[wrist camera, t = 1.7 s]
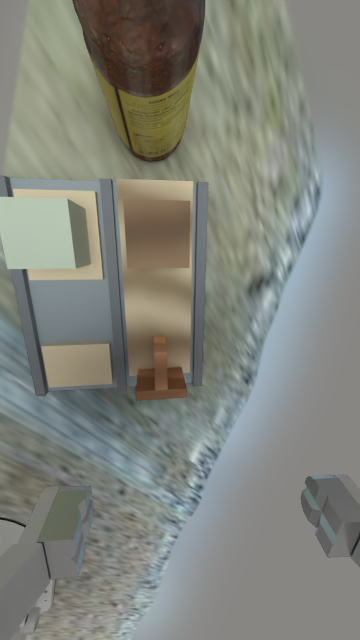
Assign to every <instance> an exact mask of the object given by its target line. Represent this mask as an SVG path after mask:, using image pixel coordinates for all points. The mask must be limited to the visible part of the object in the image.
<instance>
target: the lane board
mask: <svg viewBox="0 0 360 640" xmlns="http://www.w3.org/2000/svg"><path fill="white" fill-rule="evenodd" d="M0 197H32V198H67V199H69V200H71V201H73V202H74V203H76V204H78V205H80V206H81V207H83V208H85V209H86V219H87V229H88V238H89V248H90V258H91V264H90V265H87V266H83V267H80V268H76V269H11V274H12V279H13V284H14V289H15V294H16V298H17V303H18V308H19V313H20V318H21V323H22V328H23V333H24V338H25V343H26V348H27V353H28V358H29V363H30V368H31V373H32V378H33V383H34V388H35V393H36V396H46V394H47V393H48V392H49V391H66V390H82V389H99V388H116V387H117V390H118V391H126V390H127V387H133V386H136V383H137V376H129V362H128V347H127V332H126V317H125V302H124V287H123V272H122V257H121V242H120V227H119V212H118V197H117V182H112V180H111V179H100V181H81V180H49V179H17V178H8V177H6V176H0ZM207 212H208V182H198V183H197V184H193V221H192V281H191V341H190V373H183V375H184V379H185V383H193V386H202V362H203V332H204V302H205V272H206V242H207Z"/></svg>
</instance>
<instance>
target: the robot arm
mask: <svg viewBox="0 0 360 640" xmlns="http://www.w3.org/2000/svg"><path fill="white" fill-rule="evenodd" d="M305 484H306V486H307V487H306V488H305V489H304V490H303V491H302V494H301V504H302V508H303V511H304V513H305V515H306V517H307V519H308V521H309V522H310V523H311V524H313V525H314V526H315V527H316V536H317V538H318V540H319V542H320V544H321V546H322V548H323V550H324V552H325V553H326V555H327V557H329V558H330V557H351V559H352V560H353V561H354V562H355V563H356V564H357V565H358V566H359V567H360V489H359V487H358V486H357V485H356V484H355V482H354V481H353V480H352V479H351V478H350V477H349V476H348V475H344V474H343V475H318V476H308V477H307V478H306V480H305ZM91 494H92V490H91V486H55V487H45V489H44V490H43V491H42V492H41V495H40V497H39V499H38V501H37V503H36V505H35V508H34V510H33V512H32V514H31V516H30V518H29V521H28V523H27V525H26V527H23V526H21V525H18V524H16V523H13V522H9V521H5V520H0V640H25V638H26V636H27V634H28V633H33V632H35V630H36V627H37V624H38V621H39V617H40V614H42V613H44V612H46V611H47V610H49V609H50V607H51V605H52V602H53V598H54V586H55V579H63V578H72V577H79V574H80V570H81V565H82V561H83V557H84V553H85V544H84V539H85V538H86V537H87V536H88V534H89V532H90V527H91V522H92V515H93V501H92V500H91V499H90V497H91Z"/></svg>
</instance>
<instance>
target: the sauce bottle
mask: <svg viewBox="0 0 360 640" xmlns="http://www.w3.org/2000/svg"><path fill="white" fill-rule="evenodd" d="M72 1H73V4H74V8H75V11H76V13H77V15H78V18H79V21H80V23H81V25H82V30H83V36H84V40H85V43H86V47H87V50H88V52H89V55H90V58H91V61H92V63H93V66H94V69H95V72H96V74H97V77H98V80H99V83H100V86H101V88H102V91H103V94H104V97H105V99H106V102H107V105H108V107H109V110H110V113H111V116H112V119H113V121H114V124H115V127H116V130H117V132H118V134H119V136H120V138H121V139H122V141H123V142H124V144H125V145H126V146H127V147H128V149H129V150H130V151H131V152H132V153H133V154H134V155H135V156H136V157H138V158H141V159H143V160H147V161H150V160H151V161H157V160H162V159H164V158H165V157H167V156H168V155H169V154H170V153H172V152H173V151H174V150H175V148H176V147H177V145H178V144H179V142H180V139H181V137H182V134H183V132H184V128H185V124H186V119H187V113H188V108H189V102H190V97H191V92H192V87H193V82H194V77H195V71H196V66H197V61H198V55H199V50H200V44H201V39H202V33H203V26H204V16H205V0H72Z"/></svg>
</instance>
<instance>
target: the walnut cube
mask: <svg viewBox="0 0 360 640" xmlns="http://www.w3.org/2000/svg"><path fill="white" fill-rule="evenodd" d="M123 205H124V222H125V238H126V255H127V268H189V264H190V201H180V200H138V199H123Z"/></svg>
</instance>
